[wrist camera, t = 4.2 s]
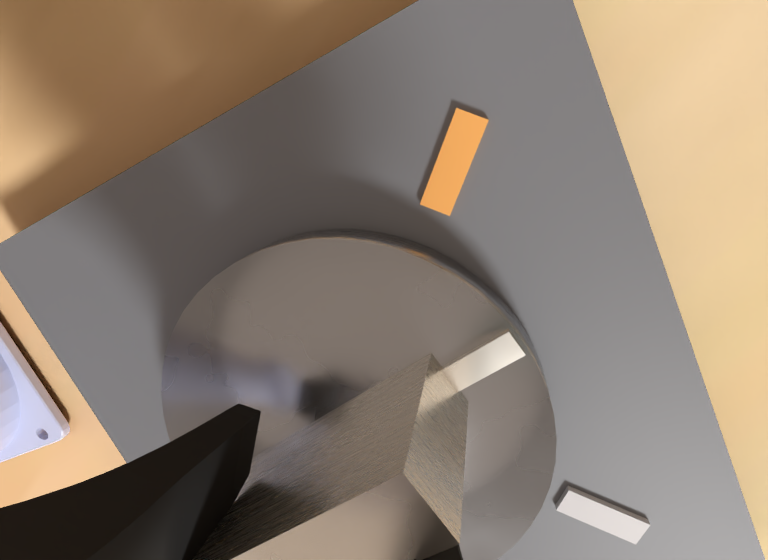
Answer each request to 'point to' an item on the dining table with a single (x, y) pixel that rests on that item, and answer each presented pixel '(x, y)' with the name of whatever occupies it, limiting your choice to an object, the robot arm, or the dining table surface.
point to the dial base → (434, 230)
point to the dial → (365, 402)
